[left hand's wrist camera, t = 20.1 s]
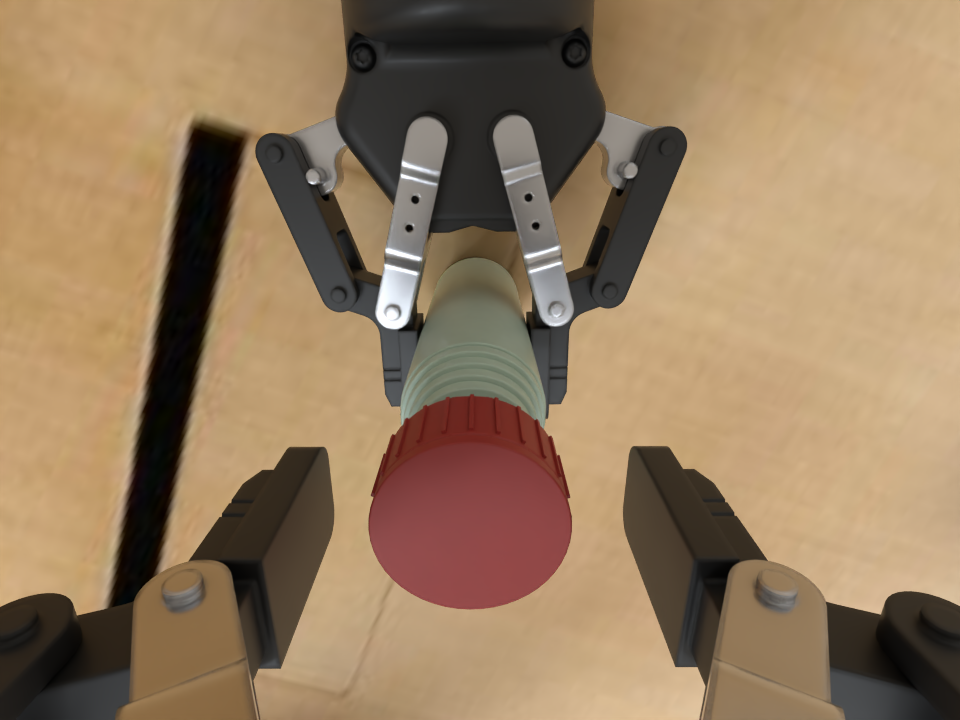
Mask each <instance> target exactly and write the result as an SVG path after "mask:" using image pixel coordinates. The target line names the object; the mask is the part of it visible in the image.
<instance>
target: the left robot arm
mask: <svg viewBox="0 0 960 720" xmlns="http://www.w3.org/2000/svg"><path fill="white" fill-rule="evenodd" d="M623 521H624V529H625V533H626V537H627V539H628V542H629V545H630V547H631V550H632V553H633V555H634V558H635V561H636V563H637V566H638V569H639V571H640V574H641V577H642V579H643V582H644V585H645V587H646V590H647V593H648V595H649V598H650V601H651V603H652V606H653V608H654V611H655V614H656V616H657V619H658V622H659V624H660V627H661V630H662V632H663V635H664V638H665V640H666V643H667V646H668V648H669V651H670V654H671V656H672V659H673V662H674V664H675V667H698V669H699V672H700V674H701V676H702V679H703V681H704V684H705V686H706V687H705V692H704V697H703V702H702V707H701V713H700V718H699V720H960V606H958V605H956V604H954V603H952V602H950V601H947V600H945V599H942V598H940V597H936V596H933V595H930V594H925V593H920V592H912V591H904V592H897V593H895V594H892V595H891V596H889V597H888V598H887V600H886V601H885V604H884V607H883V610H882V613H881V615H880V614H875V613H871V612H867V611H862V610H858V609H854V608H849V607H845V606H841V605H836V604H832V603H829V602H826V601H825V598H824V596H823V594H822V593H821V591H820V590H819V589H818V588H817V587H816V586H815V584H813V583H812V582H811V581H810V580H809V579H808V578H806V577H805V576H803V575H802V574H800V573H799V572H797V571H795V570H793V569H791V568H789V567H787V566H784V565H781V564H778V563H775V562H771V561H768V560H767V559H766V557H765V556H764V554H763V553H762V552H761V550H760V549H759V547H758V546H757V544H756V543H755V542H754V540H753V539H752V537H751V536H750V534H749V533H748V532H747V530H746V529H745V527H744V526H743V524H742V523H741V521H740V520H739V519H738V517H737V516H735V515H734V511H733V510H732V509H731V507H730V506H729V504H728V503H727V502H725V499H724V497H723V496H722V494H721V493H720V491H719V490H718V489H717V487H716V486H715V484H714V483H713V482H711V481H710V480H709V479H707V478H706V477H704V476H703V475H702V474H700V473H699V472H697V471H696V470H695V469H683V468H682V467H681V465H680V464H679V462H678V460H677V459H676V457H675V456H674V454H673V453H672V451H671V449H670V448H669V447H667V446H633V447H632V448H631V450H630V453H629V460H628V469H627V478H626V487H625V496H624V504H623ZM333 525H334V502H333V494H332V485H331V476H330V467H329V459H328V453H327V450H326V448H325V447H289V448H288V449H287V450H286V452H285V453H284V455H283V456H282V458H281V459H280V461H279V463H278V464H277V466H276V467H275V469H274V470H262V471H261V472H259V473H258V474H256V475H255V476H253V477H252V478H251V479H249V480H248V481H246V482H245V483H244V484H243V485H242V486H241V488H240V489H239V490H238V492H237V493H236V495H235V496H234V497H233V499H232V502H231V503H229V505H228V506H227V507H226V509H225V510H224V512H223V513H222V517H219V519H218V520H217V522H216V523H215V524H214V526H213V527H212V529H211V530H210V531H209V533H208V534H207V536H206V537H205V539H204V540H203V541H202V543H201V544H200V546H199V547H198V548H197V550H196V551H195V553H194V554H193V556H192V557H191V558H190V560H189V561H188V562H185V563H182V564H179V565H176V566H173V567H171V568H169V569H167V570H165V571H163V572H161V573H160V574H158V575H157V576H155V577H154V578H152V579H151V580H150V581H149V582H148V583H147V584H145V586H144V587H143V588H142V589H141V590H140V591H139V593H138V594H137V596H136V598H135V601H134V602H132V603H128V604H125V605H121V606H117V607H113V608H108V609H104V610H100V611H95V612H91V613H87V614H82V615H78V616H77V615H76V612H75V609H74V606H73V603H72V602H71V600H70V599H69V598H68V597H66V596H64V595H61V594H55V593H45V594H37V595H32V596H28V597H25V598H21V599H18V600H15V601H13V602H10V603H8V604H6V605H4V606H2V607H0V720H261V718H260V713H259V707H258V702H257V697H256V692H255V687H254V682H253V680H254V678H255V675H256V673H257V671H258V669H281V666H282V664H283V661H284V658H285V656H286V653H287V651H288V648H289V645H290V643H291V640H292V638H293V635H294V632H295V630H296V627H297V625H298V622H299V619H300V617H301V614H302V611H303V609H304V606H305V604H306V601H307V598H308V596H309V593H310V591H311V588H312V585H313V583H314V580H315V578H316V575H317V572H318V570H319V567H320V564H321V562H322V559H323V557H324V554H325V551H326V549H327V546H328V544H329V541H330V538H331V535H332V531H333Z"/></svg>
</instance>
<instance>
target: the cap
mask: <svg viewBox="0 0 960 720" xmlns="http://www.w3.org/2000/svg"><path fill="white" fill-rule="evenodd" d="M371 496H373V497H374V498H373V501H372V504H371V507H370V513H369V535H370V541H371V544H372V547H373V550H374V553H375V555H376V557H377V559H378V561H379V563H380V564H381V566H382V567H383V569H384V570H385V571H386V572H387V574H388V575H389V576H390V577H391V578H392V579H393V580H394V581H395V582H396V583H398V584H399V585H400V586H401V587H402V588H404V589H405V590H407V591H408V592H410V593H411V594H413V595H415V596H417V597H419V598H421V599H423V600H426V601H428V602H431V603H434V604H437V605H441V606H445V607H451V608H457V609H484V608H491V607H497V606H500V605H504V604H508V603H510V602H513V601H516V600H518V599H520V598H522V597H524V596H526V595H528V594H530V593H531V592H533V591H535V590H536V589H538V588H539V587H540V586H541V585H543V584H544V583H545V582H546V581H547V580H548V579H549V578H550V577H551V576H552V575H553V574H554V573H555V571H556V570H557V568H558V567H559V566H560V564H561V563H562V561H563V559H564V557H565V555H566V553H567V550H568V546H569V543H570V539H571V533H572V516H571V512H570V507H569V503H568V499H567V498H570V494H569V490H568V486H567V482H566V479H565V475H564V471H563V467H562V463H561V459H560V455H557V454H556V450H555V446H554V442H553V438H552V436H548V435H547V433H546V432H545V430H544V429H543V428H542V427H541V426H540V422H539V420H538V419H536V420H534V419H533V418H532V417H531V416H530V415H528V414H527V413H526V412H524V411H523V410H521V407H520V406H517V407H515V406H513V405H511V404H509V403H507V402H504V401H500V400H499V398H497V397H495V398H489V397H481V396H474V394H470V396H460V397H452V398H450V397H446V399H445V400H442V401H439V402H436V403H434V404H431V405H429V406H427V405H424V406H423V409H421V410H420V411H418V412H417V413H415V414H414V415H413V416H412V417H410V418H409V419H408V418H406V419H405V420H404V423H403V425H402V426H401V427H400V429H399V430H398V432H397V433H396V434H395V435H393V434H392V436H391V438H390V442H389V445H388V448H387V451H386V454H384V455H383V458H382V461H381V465H380V468H379V471H378V474H377V477H376V480H375V484H374V487H373V490H372V493H371Z"/></svg>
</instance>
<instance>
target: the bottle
mask: <svg viewBox="0 0 960 720" xmlns="http://www.w3.org/2000/svg"><path fill="white" fill-rule="evenodd" d="M470 394H474V396H481V397H489V398H495V397H497V398H499V400H500V401H504V402H507V403H509V404H511V405H513V406H515V407H517V406H520V407H521V410H523V411H524V412H526V413H527V414H528V415H530V416H531V417H532V418H533V419H534V420H536V419H538V420H539V422H540V426H541V427H542V428H543V429H544V426H545V415H546V401H545V395H544V391H543V387H542V383H541V379H540V375H539V371H538V368H537V364H536V360H535V356H534V352H533V349H532V345H531V341H530V337H529V333H528V329H527V326H526V322H525V318H524V314H523V310H522V307H521V303H520V299H519V295H518V291H517V287H516V285H515V282H514V280H513V278H512V277H511V275H510V274H509V273H508V271H507V270H506V269H505V268H503V267H502V266H501V265H499V264H498V263H496V262H494V261H491V260H488V259H485V258H467V259H464V260H461V261H458V262H456V263H454V264H453V265H451V266H450V267H449V268H448V269H447V270H446V271H445V272H444V273H443V274H442V275H441V277H440V279H439V280H438V282H437V285H436V288H435V291H434V294H433V297H432V300H431V304H430V307H429V310H428V313H427V316H426V319H425V322H424V326H423V329H422V332H421V335H420V338H419V341H418V344H417V348H416V351H415V354H414V357H413V360H412V363H411V366H410V370H409V373H408V376H407V379H406V382H405V385H404V388H403V392H402V397H401V424H402V425H403V423H404V420H405V419H406V418H408V419H409V418H410V417H412V416H413V415H414V414H415V413H417V412H418V411H420V410H421V409H423V406H424V405H427V406H429V405H431V404H434V403H436V402H439V401H442V400H445V399H446V397H450V398H452V397H460V396H470Z"/></svg>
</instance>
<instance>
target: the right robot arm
mask: <svg viewBox="0 0 960 720" xmlns="http://www.w3.org/2000/svg"><path fill="white" fill-rule="evenodd" d="M341 3H342V13H343V24H344V35H345V46H346V57H347V72H346V79H345V83H344V87H343V90H342V92H341V95H340V97H339V99H338V102H337V105H336V113H335V117H333V118H330V119H328V120H325V121H323V122H320V123H318V124H315V125H312V126H310V127H307V128H305V129H302V130H300V131H297V132H295V133H292V134H278V133H269V134H266V135H264V136H262V137H261V138H260V139H259V141H258V142H257V145H256V150H255V152H256V158H257V160H258V163H259V165H260V167H261V169H262V171H263V173H264V176H265V178H266V180H267V182H268V184H269V186H270V188H271V191H272V193H273V195H274V197H275V199H276V201H277V204H278V206H279V208H280V210H281V212H282V214H283V216H284V219H285V221H286V223H287V225H288V227H289V229H290V231H291V234H292V236H293V238H294V240H295V242H296V244H297V247H298V249H299V251H300V253H301V255H302V257H303V259H304V262H305V264H306V266H307V268H308V270H309V272H310V274H311V277H312V279H313V281H314V283H315V285H316V287H317V290H318V292H319V294H320V296H321V298H322V300H323V302H324V304H325V305H326V306H327V307H328V308H329V309H331V310H333V311H335V312H345V311H351V312H354V313H357V314H360V315H363V316H366V317H368V318H370V319H371V320H372V321H373V322H374V323H375V324H376V325H377V327H378V329H379V332H380V338H381V350H382V362H383V373H384V385H385V395H386V397H387V399H388V400H389V402H390V404H391V406H401V397H402V392H403V388H404V385H405V382H406V379H407V376H408V373H409V370H410V366H411V363H412V360H413V357H414V354H415V351H416V348H417V344H418V341H419V338H420V335H421V332H422V329H423V326H424V319H423V313H417V299H418V294H419V290H420V285H421V281H422V276H423V272H424V268H425V263H426V259H427V255H428V251H429V248H430V244H431V239H432V235H433V233H447V232H452V231H456V230H459V229H462V228H466V227H469V226H477V227H481V228H485V229H489V230H493V231H497V232H501V231H515V233H516V237H517V240H518V244H519V247H520V251H521V254H522V258H523V261H524V265H525V269H526V273H527V276H528V280H529V284H530V287H531V291H532V312H526V326H527V329H528V333H529V337H530V341H531V345H532V349H533V352H534V356H535V360H536V364H537V368H538V371H539V375H540V379H541V383H542V387H543V391H544V395H545V401H546V415H545V419H548V413H549V404H561V402H562V400H563V398H564V396H565V394H566V392H567V366H568V343H569V329H570V326H571V323H572V322H573V320H574V319H575V318H576V317H577V316H578V315H580V314H582V313H584V312H586V311H589V310H592V309H595V308H597V307H602V308H614V307H616V306H618V305H620V304H621V303H622V302H623V301H624V299H625V297H626V295H627V293H628V290H629V288H630V285H631V283H632V281H633V278H634V276H635V273H636V271H637V269H638V266H639V264H640V261H641V259H642V256H643V254H644V252H645V249H646V247H647V244H648V242H649V240H650V237H651V235H652V232H653V230H654V228H655V225H656V223H657V220H658V218H659V215H660V213H661V211H662V208H663V206H664V203H665V201H666V199H667V196H668V194H669V191H670V189H671V187H672V184H673V182H674V179H675V177H676V174H677V172H678V170H679V167H680V165H681V162H682V160H683V158H684V155H685V153H686V149H687V140H686V137H685V135H684V133H683V132H682V131H681V130H680V129H678V128H676V127H672V126H667V127H666V126H659V127H650V126H648V125H645V124H642V123H639V122H636V121H633V120H630V119H627V118H625V117H622V116H619V115H616V114H613V113H610V112H607V111H606V107H605V101H604V98H603V95H602V93H601V91H600V89H599V87H598V84H597V82H596V79H595V76H594V71H593V66H592V37H593V16H594V0H341ZM594 143H595V144H597V145H598V146H599V148H600V149H601V151H602V155H603V162H602V167H601V174H602V177H603V180H604V181H605V182H606V183H607V184H608V185H609V186H612V190H611V193H610V195H609V198H608V201H607V203H606V206H605V209H604V211H603V214H602V216H601V219H600V222H599V224H598V227H597V230H596V232H595V235H594V238H593V240H592V243H591V246H590V248H589V251H588V254H587V256H586V259H585V261H584V264H583V267H581V268H578V269H576V270H573V271H570V272H568V273H566V272H565V268H564V264H563V260H562V251H561V246H560V242H559V238H558V234H557V230H556V226H555V221H554V217H553V213H552V209H551V205H550V203H551V202H552V201H553V199H554V198H555V197H556V195H557V194H558V192H559V191H560V190H561V188H562V187H563V185H564V184H565V183H566V181H567V180H568V178H569V177H570V176H571V174H572V173H573V171H574V170H575V169H576V167H577V166H578V165H579V163H580V162H581V160H582V159H583V158H584V156H585V155H586V153H587V152H588V151H589V149H590V148H591V146H592V145H593V144H594ZM348 148H349V149H350V150H351V151H352V153H353V154H354V155H355V157H356V158H357V159H358V160H359V162H360V163H361V164H362V165H363V167H364V168H365V169H366V171H367V172H368V173H369V174H370V176H371V177H372V178H373V180H374V181H375V182H376V183H377V185H378V186H379V187H380V188H381V190H382V191H383V192H384V194H385V195H386V196H387V197H388V199H389V200H390V201H391V203H392V204H393V205H394V208H393V213H392V219H391V224H390V229H389V234H388V239H387V244H386V249H385V257H384V259H385V263H384V269H383V274H382V276H380V275H377V274H374V273H371V272H368V271H367V270H366V267H365V265H364V263H363V260H362V258H361V256H360V253H359V251H358V249H357V246H356V244H355V241H354V239H353V237H352V234H351V232H350V230H349V227H348V225H347V223H346V220H345V218H344V216H343V213H342V211H341V209H340V206H339V204H338V202H337V199H336V197H335V195H334V191H336V190H338V189H339V188H340V186H341V185H342V183H343V179H344V174H343V170H342V165H341V161H342V156H343V154H344V152H345V151H346V150H347V149H348Z"/></svg>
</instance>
